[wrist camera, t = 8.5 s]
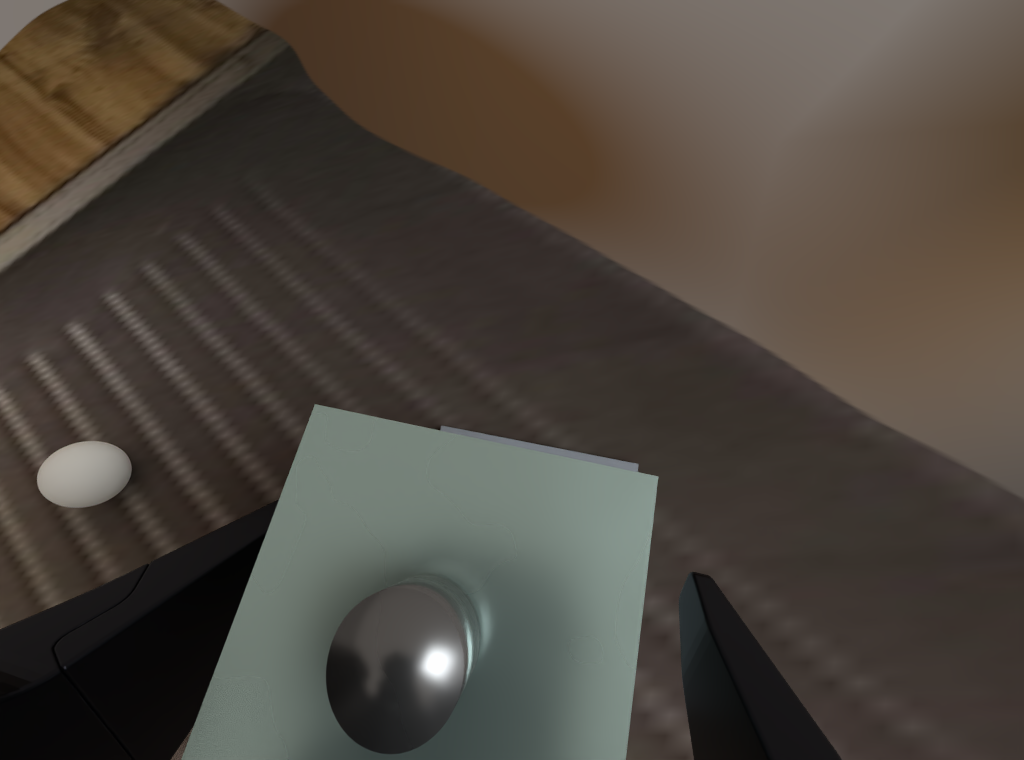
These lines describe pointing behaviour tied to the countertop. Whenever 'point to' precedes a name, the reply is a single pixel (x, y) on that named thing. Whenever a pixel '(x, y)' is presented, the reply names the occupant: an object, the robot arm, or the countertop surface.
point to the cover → (435, 604)
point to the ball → (84, 474)
